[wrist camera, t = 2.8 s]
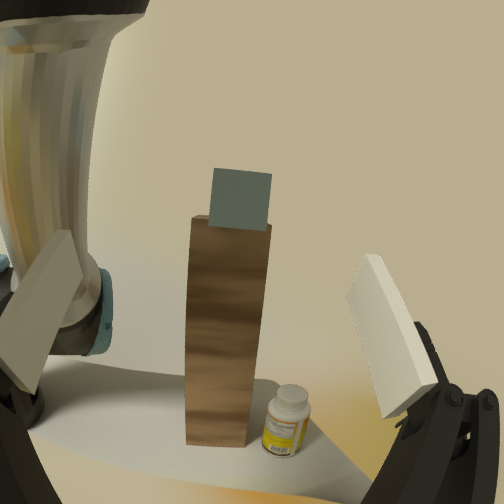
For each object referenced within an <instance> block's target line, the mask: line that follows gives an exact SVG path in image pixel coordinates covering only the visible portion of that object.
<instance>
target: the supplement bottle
mask: <svg viewBox="0 0 504 504" xmlns="http://www.w3.org/2000/svg"><path fill="white" fill-rule="evenodd" d="M307 398H308V393H307V391H306V390H305V389H304V388H303V387H300V386H298V385H291V384H288V385H283V386H281V387H279V388H278V389H277V392H276V396H275V397H273V398H272V399H271V400H270V401H269V404H268V408H267V414H266V420H265V426H264V432H263V438H262V447H263V449H264V450H265V451H266V452H267V453H268V454H270V455H272V456H274V457H279V458H287V457H291V456H293V455H295V454H296V453H297V452H298V451H299V450H300V447H301V444H302V441H303V437H304V434H305V430H306V427H307V423H308V419H309V416H310V412H311V407H310V405H309V403H308V402H307Z"/></svg>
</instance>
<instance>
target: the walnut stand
mask: <svg viewBox="0 0 504 504" xmlns="http://www.w3.org/2000/svg"><path fill="white" fill-rule="evenodd" d="M208 223H209V215H197V216H195V217H193V218H192V221H191V234H190V248H189V263H188V279H187V301H186V329H185V423H186V445H196V446H212V447H245V441H246V434H247V427H248V419H249V412H250V405H251V397H252V390H253V382H254V374H255V366H256V358H257V350H258V342H259V334H260V326H261V318H262V309H263V301H264V292H265V284H266V274H267V266H268V257H269V248H270V239H271V229H272V225H270V224H268V223H267V227H266V231H259V230H248V229H237V228H226V227H215V226H208Z"/></svg>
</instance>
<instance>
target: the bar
mask: <svg viewBox="0 0 504 504" xmlns="http://www.w3.org/2000/svg"><path fill="white" fill-rule="evenodd" d="M271 179H272V174H267V173H259V172H250V171H240V170H231V169H221V168H214V173H213V183H212V193H211V203H210V213H209V223H208V226H215V227H226V228H237V229H248V230H259V231H266V227H267V218H268V208H269V198H270V188H271Z"/></svg>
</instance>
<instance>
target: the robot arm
mask: <svg viewBox="0 0 504 504" xmlns="http://www.w3.org/2000/svg"><path fill="white" fill-rule="evenodd" d="M149 1H150V0H0V227H1V230H2V234H3V237H4V241H5V244H6V247H7V250H8V253H9V257H10V259H11V263H12V266H13V268H12V267H10V266H9V265H10V262H9V259H8V257H7V256H6V255H1V254H0V504H62V502H61V501H60V499H59V497H58V495H57V493H56V492H55V490H54V488H53V486H52V485H51V483H50V481H49V479H48V477H47V475H46V473H45V471H44V469H43V466H42V464H41V463H40V460H39V458H38V456H37V454H36V451H35V449H34V446H33V444H32V442H31V439H30V437H29V434H28V431H27V428H28V427H30V426H31V425H33V424H34V423H35V422H36V421H37V420H38V419H39V417H40V416H41V414H42V412H43V408H44V400H43V396H42V393H41V389H40V387H39V385H38V382H39V380H40V377H41V374H42V371H43V368H44V365H45V363H46V360H47V357H48V355H81V356H90V355H92V354H102V353H104V352H106V351H107V350H108V348H109V346H110V343H111V338H112V320H113V291H112V281H111V276H110V274H109V272H108V271H107V270H105V269H101V268H98V265H97V263H96V261H95V260H94V259H93V257H92V256H91V255H90V254H89V253H88V252H87V199H88V179H89V165H90V154H91V144H92V136H93V128H94V121H95V114H96V108H97V102H98V97H99V91H100V86H101V81H102V77H103V72H104V67H105V63H106V59H107V55H108V51H109V47H110V44H111V40H112V39H113V37H114V36H115V35H116V34H117V33H118V32H120V31H121V30H123V29H124V28H126V27H127V26H129V25H131V24H132V23H133V22H135V21H137V20H139V19H140V18H142V17H143V16H144V14H145V11H146V8H147V6H148V3H149ZM346 299H347V301H348V304H349V307H350V310H351V313H352V316H353V319H354V322H355V325H356V328H357V332H358V335H359V338H360V341H361V344H362V347H363V351H364V354H365V357H366V360H367V364H368V367H369V371H370V374H371V378H372V381H373V385H374V389H375V392H376V396H377V399H378V403H379V407H380V411H381V415H382V419H386V418H391V417H395V416H399V415H400V414H401V413H403V412H404V411H405V410H407V413H408V416H406V417H405V418H404V419H402V420H401V421H400V422H398V423H397V424H396V426H395V428H397V427H399V426H400V425H402V426H401V428H400V431H399V433H398V435H397V437H396V439H395V442H394V444H393V446H392V448H391V450H390V452H389V454H388V456H387V458H386V460H385V462H384V464H383V466H382V468H381V470H380V471H379V473H378V475H377V477H376V478H375V480H374V482H373V484H372V485H371V487H370V489H369V491H368V492H367V494H366V496H365V497H364V499H363V500H362V502H361V504H494V501H495V493H496V486H497V477H498V466H499V446H500V419H499V418H500V416H499V403H498V399H497V396H496V394H495V393H494V392H493V391H491V390H490V389H484V390H482V391H481V392H480V393H478V394H477V395H470V394H464V393H463V392H462V390H461V389H460V388H459V387H458V386H457V385H455V384H452V383H451V384H450V383H449V381H448V379H447V377H446V374H445V371H444V369H443V366H442V364H441V362H440V359H439V357H438V354H437V352H435V348H434V345H433V344H432V343H431V342H432V341H431V339H430V337H429V334H428V332H427V330H426V329H425V328H424V327H423V326H422V325H421V323H420V322H413V320H412V318H411V316H410V314H409V312H408V310H407V308H406V306H405V304H404V302H403V299H402V297H401V295H400V293H399V291H398V289H397V287H396V285H395V283H394V282H393V280H392V278H391V276H390V274H389V272H388V270H387V268H386V266H385V264H384V263H383V261H382V259H381V257H380V255H373V254H365V256H364V258H363V260H362V263H361V265H360V267H359V269H358V272H357V274H356V276H355V278H354V281H353V283H352V285H351V287H350V289H349V291H348V293H347V295H346ZM469 432H470V439H467V434H468V433H469Z"/></svg>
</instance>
